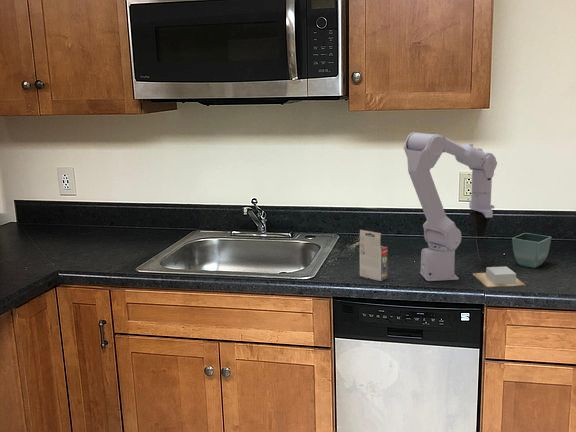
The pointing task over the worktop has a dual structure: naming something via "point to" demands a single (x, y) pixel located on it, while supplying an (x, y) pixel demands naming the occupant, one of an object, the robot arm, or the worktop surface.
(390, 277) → the worktop surface
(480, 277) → the board
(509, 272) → the slab
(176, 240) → the worktop surface
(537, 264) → the flower pot
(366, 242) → the ink box
